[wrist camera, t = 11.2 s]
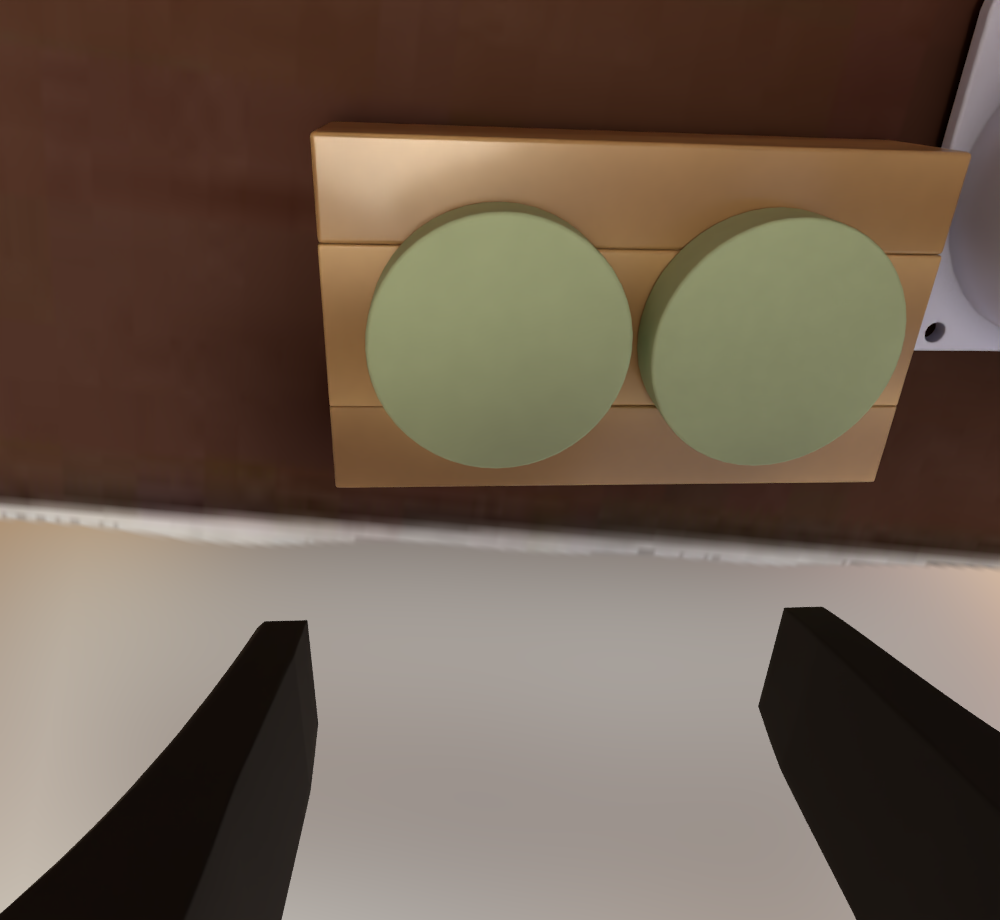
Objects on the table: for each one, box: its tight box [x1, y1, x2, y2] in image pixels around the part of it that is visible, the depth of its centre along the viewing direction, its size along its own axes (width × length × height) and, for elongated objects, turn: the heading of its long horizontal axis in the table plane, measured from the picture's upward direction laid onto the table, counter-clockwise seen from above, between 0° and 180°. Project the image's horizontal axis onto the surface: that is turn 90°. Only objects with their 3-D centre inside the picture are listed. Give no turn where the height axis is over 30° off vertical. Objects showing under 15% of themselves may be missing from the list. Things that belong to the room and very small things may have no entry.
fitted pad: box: [637, 207, 906, 466], centre depth 17 cm, size 5×5×4 cm
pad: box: [365, 202, 633, 468], centre depth 16 cm, size 5×5×4 cm
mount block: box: [310, 121, 971, 488], centre depth 17 cm, size 7×13×3 cm, turn 88°
